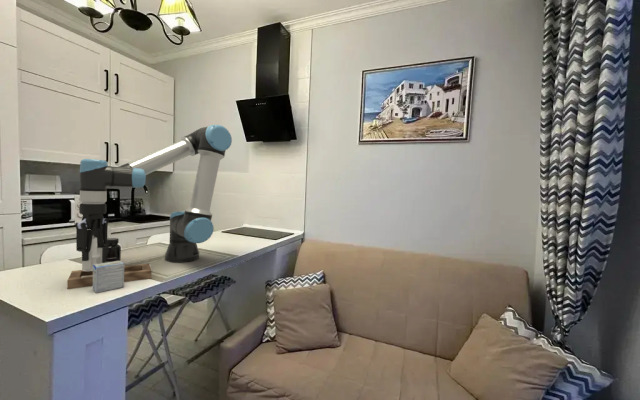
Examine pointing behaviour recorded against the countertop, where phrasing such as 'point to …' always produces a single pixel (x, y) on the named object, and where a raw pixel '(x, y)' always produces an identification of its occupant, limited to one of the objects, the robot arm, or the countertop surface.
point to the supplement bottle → (111, 251)
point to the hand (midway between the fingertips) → (92, 267)
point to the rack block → (130, 274)
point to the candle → (93, 252)
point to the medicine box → (108, 276)
